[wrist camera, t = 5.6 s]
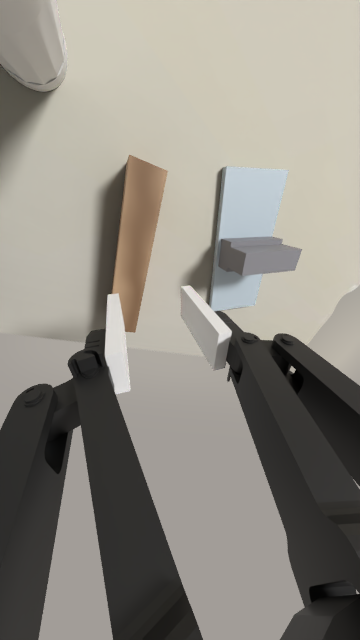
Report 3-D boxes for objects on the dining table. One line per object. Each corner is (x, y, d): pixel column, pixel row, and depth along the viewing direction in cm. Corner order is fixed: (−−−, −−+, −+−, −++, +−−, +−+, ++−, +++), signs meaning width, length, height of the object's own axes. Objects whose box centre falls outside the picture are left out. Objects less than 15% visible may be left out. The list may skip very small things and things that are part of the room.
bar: (108, 314, 32) (107, 330, 28) (126, 163, 22) (129, 154, 18) (132, 316, 33) (135, 332, 29) (158, 176, 24) (167, 170, 20)
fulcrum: (208, 309, 37) (228, 332, 31) (223, 167, 25) (260, 155, 19) (251, 303, 39) (278, 322, 33) (283, 171, 28) (335, 161, 21)
